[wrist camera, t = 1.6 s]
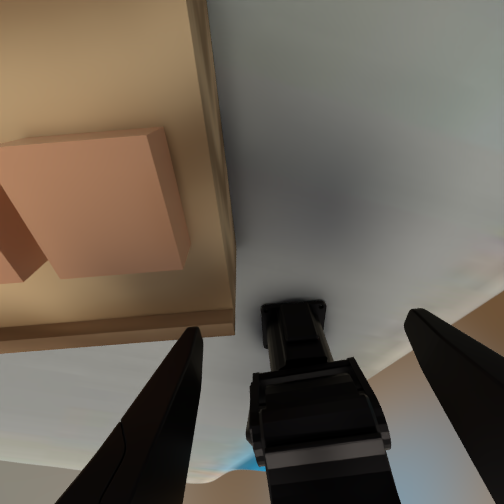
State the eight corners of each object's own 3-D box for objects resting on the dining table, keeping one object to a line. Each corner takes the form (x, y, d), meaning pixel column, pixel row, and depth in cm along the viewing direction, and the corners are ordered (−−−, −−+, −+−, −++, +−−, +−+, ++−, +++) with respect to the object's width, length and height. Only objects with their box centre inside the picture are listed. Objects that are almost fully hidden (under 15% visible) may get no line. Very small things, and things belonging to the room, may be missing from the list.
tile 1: (191, 243, 12) (183, 269, 10) (85, 252, 12) (60, 279, 10) (163, 126, 9) (146, 135, 7) (26, 137, 9) (-22, 148, 7)
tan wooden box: (236, 248, 22) (234, 335, 14) (-19, 269, 22) (-157, 366, 14) (204, -16, 13) (154, -165, 5) (-225, 19, 13) (-884, -78, 5)
